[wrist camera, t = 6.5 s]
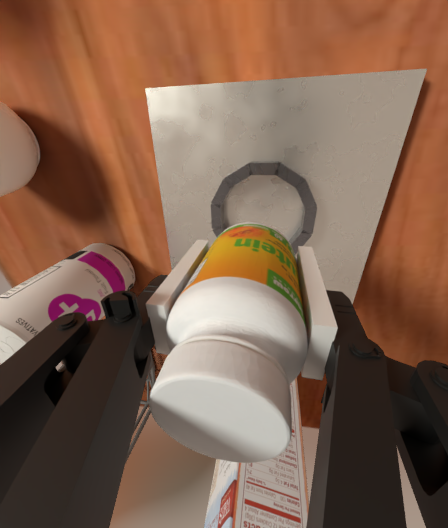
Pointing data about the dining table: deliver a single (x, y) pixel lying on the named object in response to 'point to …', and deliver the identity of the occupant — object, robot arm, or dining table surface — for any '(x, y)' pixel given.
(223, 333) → the supplement bottle
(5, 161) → the lidded jar
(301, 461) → the cracker box
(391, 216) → the dining table surface
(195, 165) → the plate
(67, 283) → the supplement can
